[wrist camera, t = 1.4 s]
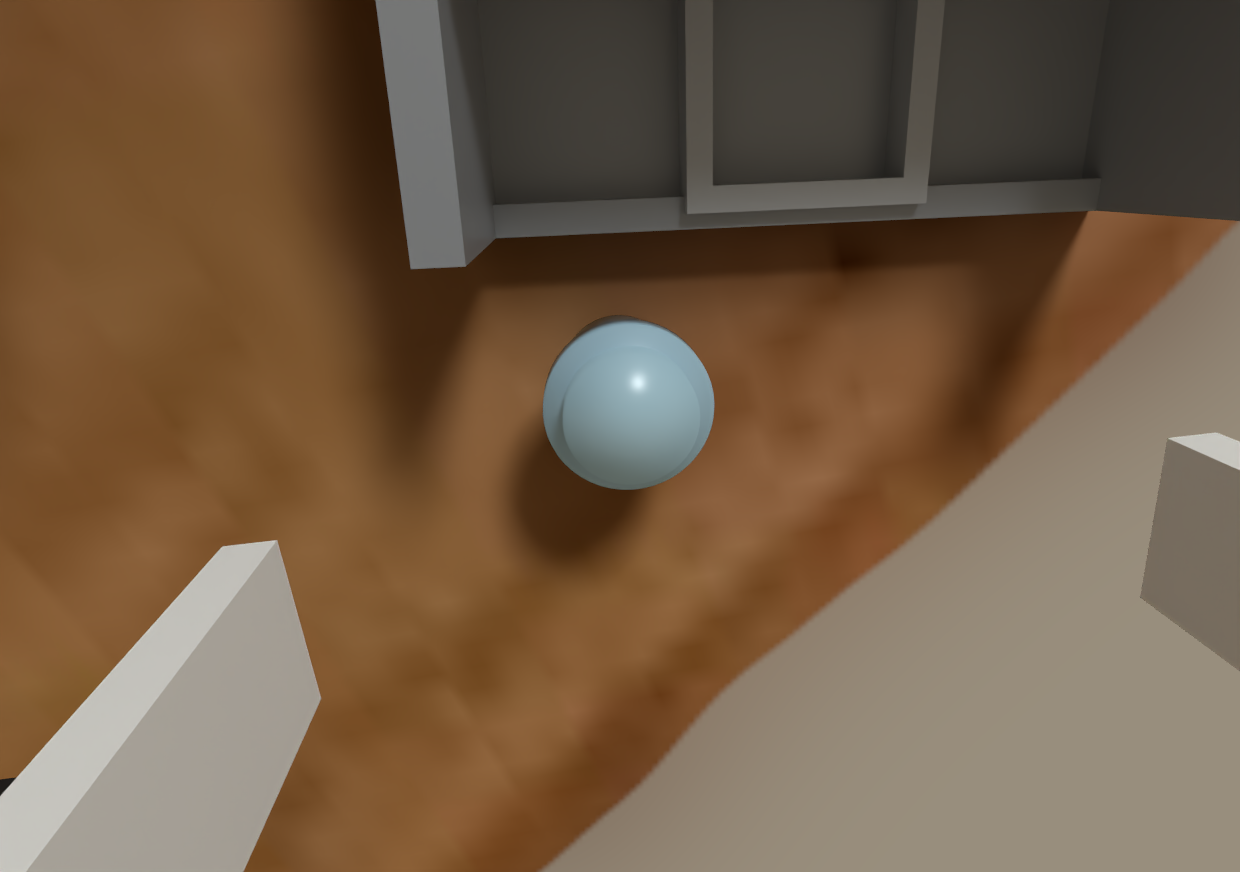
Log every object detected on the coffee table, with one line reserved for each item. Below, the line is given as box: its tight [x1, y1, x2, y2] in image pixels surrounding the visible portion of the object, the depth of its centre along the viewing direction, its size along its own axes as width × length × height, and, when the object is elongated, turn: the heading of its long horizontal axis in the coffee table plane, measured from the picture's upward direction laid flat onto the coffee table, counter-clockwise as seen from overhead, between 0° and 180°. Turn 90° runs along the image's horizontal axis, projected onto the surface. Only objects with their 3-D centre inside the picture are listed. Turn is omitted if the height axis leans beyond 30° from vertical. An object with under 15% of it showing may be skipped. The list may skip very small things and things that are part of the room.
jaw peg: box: [543, 315, 714, 490], centre depth 25 cm, size 5×5×6 cm
